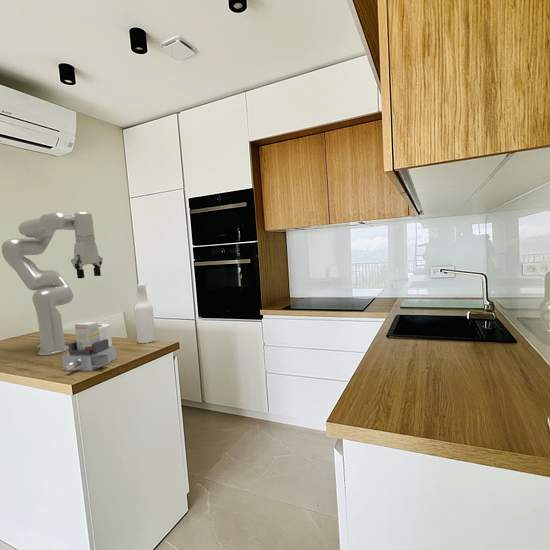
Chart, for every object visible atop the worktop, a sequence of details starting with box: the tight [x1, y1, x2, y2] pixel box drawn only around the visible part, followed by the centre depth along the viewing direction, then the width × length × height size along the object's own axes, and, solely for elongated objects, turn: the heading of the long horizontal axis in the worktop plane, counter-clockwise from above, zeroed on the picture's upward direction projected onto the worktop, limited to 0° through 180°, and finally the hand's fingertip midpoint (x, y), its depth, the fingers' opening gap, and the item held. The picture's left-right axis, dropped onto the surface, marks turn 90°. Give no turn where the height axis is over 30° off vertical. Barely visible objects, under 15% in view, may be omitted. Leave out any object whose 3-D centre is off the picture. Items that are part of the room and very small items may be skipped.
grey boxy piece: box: [61, 339, 118, 372], centre depth 136 cm, size 18×18×10 cm
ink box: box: [74, 321, 100, 352], centre depth 138 cm, size 9×5×12 cm, turn 68°
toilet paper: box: [98, 323, 113, 346], centre depth 158 cm, size 10×10×12 cm
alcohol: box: [134, 283, 157, 344], centre depth 168 cm, size 9×9×30 cm
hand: (89, 277), depth 150 cm, fingers open, 9 cm apart
